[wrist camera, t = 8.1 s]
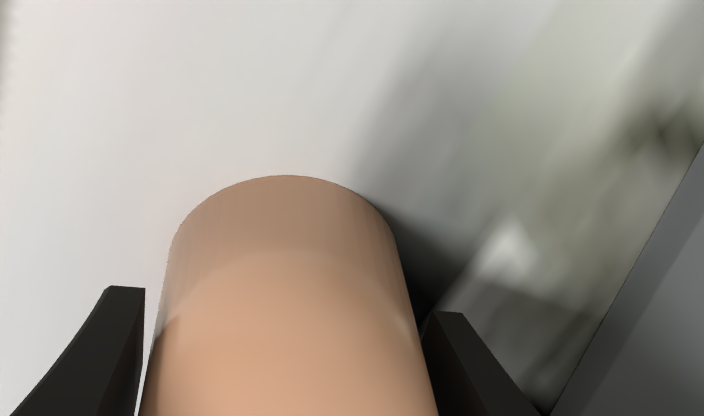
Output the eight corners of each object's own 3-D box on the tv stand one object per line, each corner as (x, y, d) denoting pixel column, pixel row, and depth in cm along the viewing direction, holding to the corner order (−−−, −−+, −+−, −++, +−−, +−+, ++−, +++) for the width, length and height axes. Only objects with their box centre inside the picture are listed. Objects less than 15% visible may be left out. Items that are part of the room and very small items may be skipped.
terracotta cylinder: (371, 356, 17) (424, 683, 11) (163, 343, 16) (101, 695, 10) (423, 190, 14) (532, 511, 8) (173, 160, 13) (97, 504, 7)
